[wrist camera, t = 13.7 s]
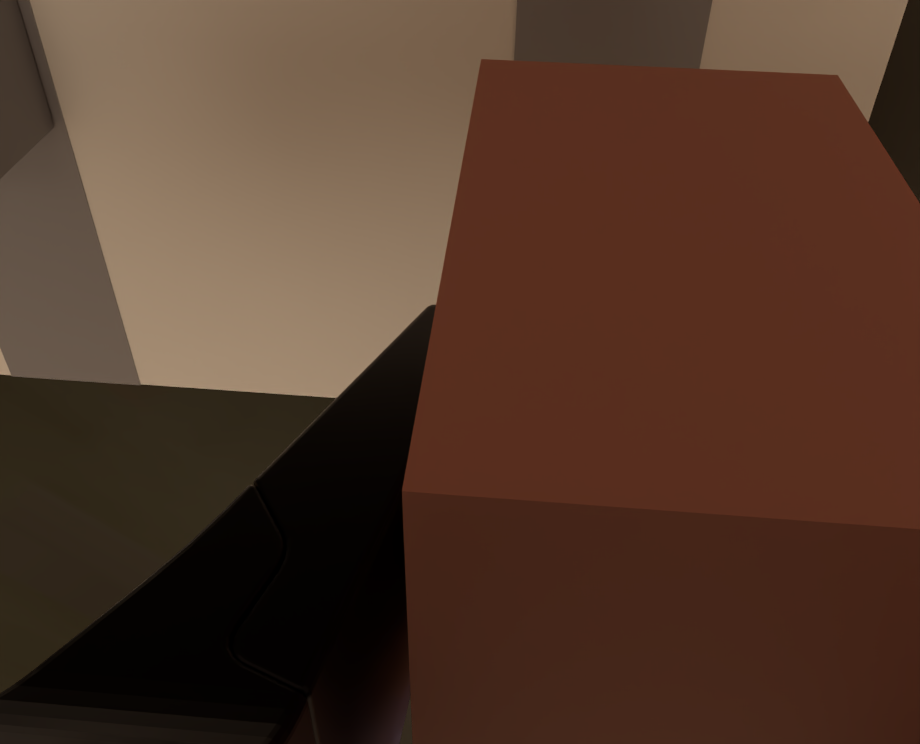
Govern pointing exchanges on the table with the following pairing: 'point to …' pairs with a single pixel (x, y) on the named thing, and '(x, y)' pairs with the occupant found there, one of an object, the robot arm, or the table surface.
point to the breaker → (19, 91)
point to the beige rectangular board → (303, 165)
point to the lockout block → (669, 419)
